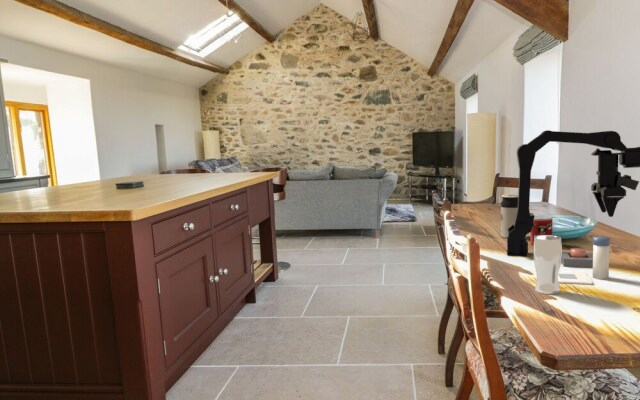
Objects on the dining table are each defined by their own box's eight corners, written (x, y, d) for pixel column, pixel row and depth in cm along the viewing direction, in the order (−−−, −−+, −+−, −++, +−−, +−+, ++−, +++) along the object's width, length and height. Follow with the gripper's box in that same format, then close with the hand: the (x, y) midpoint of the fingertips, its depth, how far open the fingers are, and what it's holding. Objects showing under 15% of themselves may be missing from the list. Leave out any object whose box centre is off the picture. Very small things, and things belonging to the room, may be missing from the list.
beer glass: (550, 296, 118) (550, 241, 116) (527, 289, 124) (527, 237, 122) (567, 291, 121) (567, 237, 119) (544, 285, 127) (544, 233, 125)
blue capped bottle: (594, 279, 130) (594, 239, 128) (590, 275, 134) (591, 236, 132) (610, 280, 128) (611, 239, 127) (606, 275, 132) (607, 236, 131)
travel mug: (522, 235, 192) (522, 194, 190) (519, 239, 185) (519, 196, 183) (503, 234, 196) (502, 194, 194) (499, 238, 189) (499, 196, 187)
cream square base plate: (549, 282, 129) (549, 280, 129) (544, 272, 139) (544, 270, 139) (592, 284, 125) (592, 282, 125) (584, 273, 136) (584, 271, 136)
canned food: (531, 246, 172) (531, 218, 171) (529, 242, 179) (529, 215, 178) (553, 247, 169) (553, 219, 168) (551, 242, 176) (551, 215, 175)
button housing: (563, 266, 144) (563, 258, 144) (558, 258, 153) (558, 251, 153) (599, 267, 141) (599, 259, 140) (591, 259, 150) (591, 252, 150)
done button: (571, 259, 146) (571, 251, 145) (569, 256, 150) (569, 247, 149) (587, 260, 144) (587, 251, 144) (584, 257, 148) (584, 248, 148)
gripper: (646, 169, 138) (644, 219, 139) (627, 165, 155) (626, 210, 157) (604, 170, 142) (603, 219, 143) (591, 167, 159) (590, 210, 161)
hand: (607, 214), depth 151 cm, fingers open, 9 cm apart
